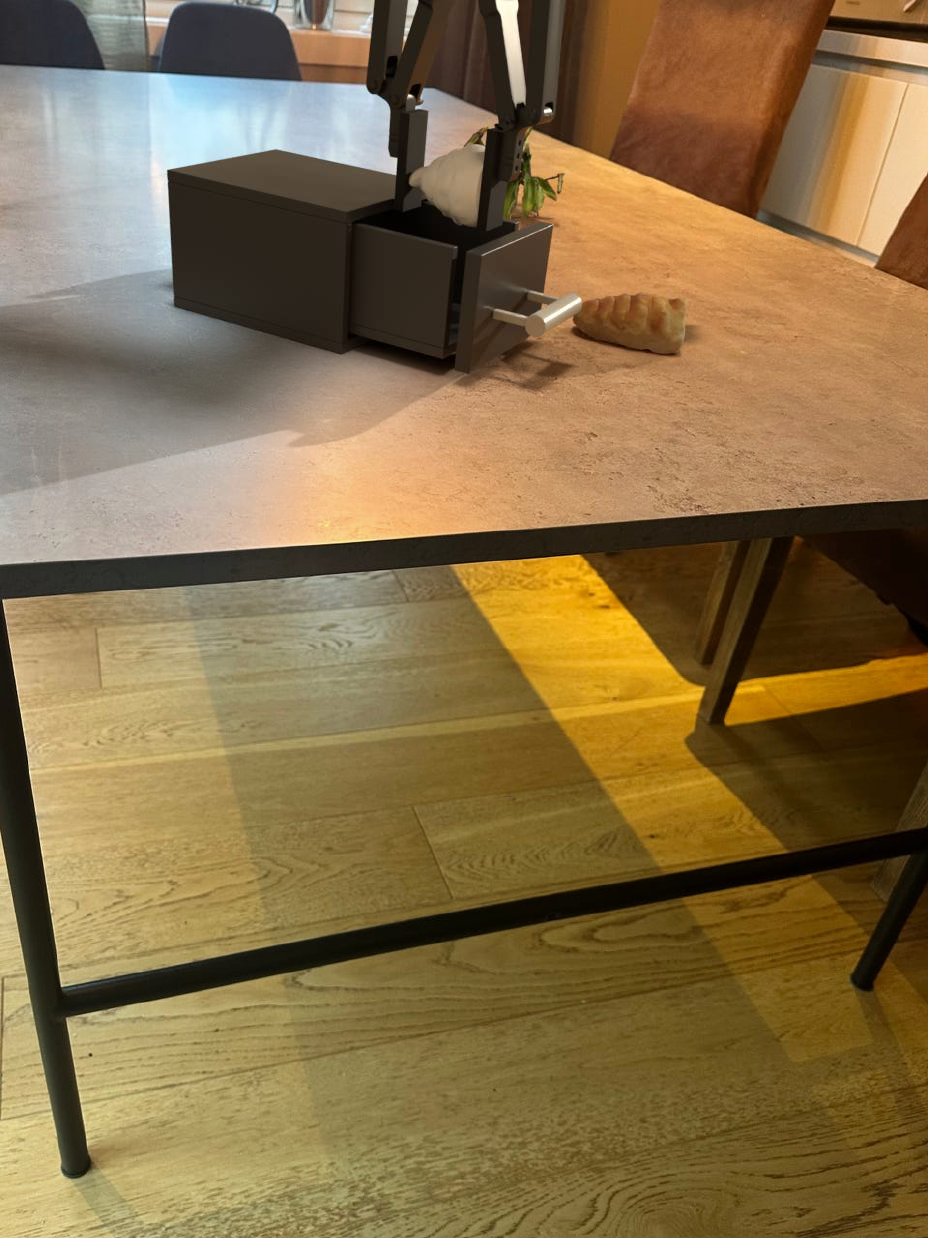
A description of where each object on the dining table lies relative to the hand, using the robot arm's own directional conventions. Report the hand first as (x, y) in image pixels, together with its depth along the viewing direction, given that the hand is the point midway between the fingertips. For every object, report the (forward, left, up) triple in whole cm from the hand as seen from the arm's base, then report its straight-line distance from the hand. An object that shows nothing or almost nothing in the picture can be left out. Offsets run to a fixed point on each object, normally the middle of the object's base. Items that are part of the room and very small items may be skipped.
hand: (447, 216), depth 76 cm
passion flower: (-15, +45, -10) cm, 48 cm away
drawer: (+1, 0, -9) cm, 9 cm away
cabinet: (-12, 0, -10) cm, 15 cm away
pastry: (+12, +13, -10) cm, 20 cm away
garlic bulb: (0, 0, 0) cm, 0 cm away
